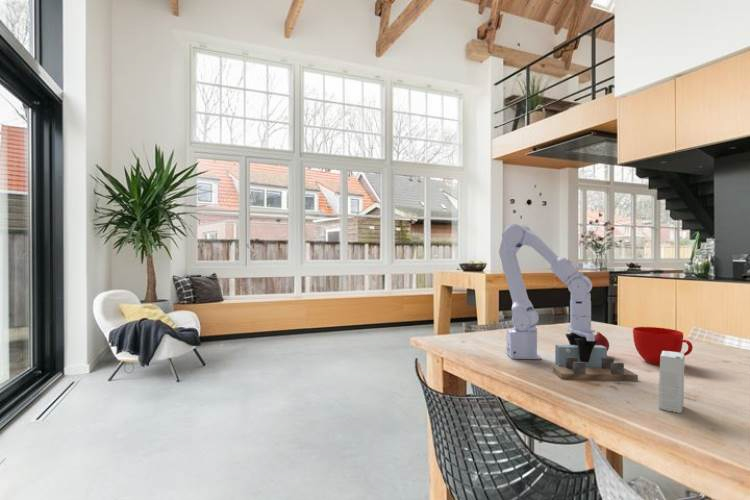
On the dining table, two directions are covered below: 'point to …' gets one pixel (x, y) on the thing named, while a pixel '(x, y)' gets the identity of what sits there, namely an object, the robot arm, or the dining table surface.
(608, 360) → the rail
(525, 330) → the robot arm
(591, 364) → the pale blue rectangular block
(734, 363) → the dining table surface
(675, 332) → the ceramic cup
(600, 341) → the onion
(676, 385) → the skincare box
